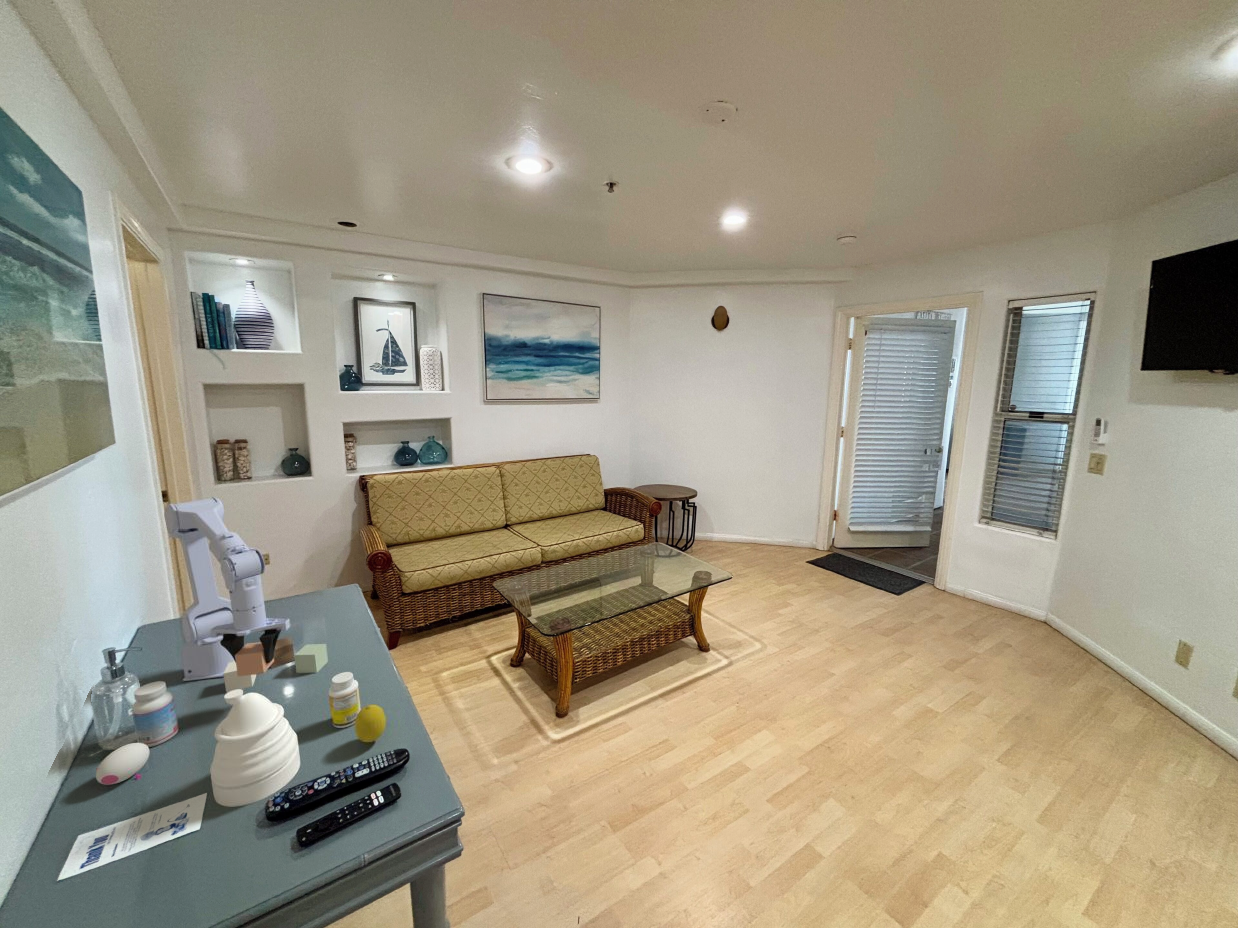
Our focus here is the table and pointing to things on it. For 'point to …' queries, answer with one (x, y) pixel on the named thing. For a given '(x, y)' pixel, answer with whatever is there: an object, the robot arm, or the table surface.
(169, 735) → the pill bottle
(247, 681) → the cream block
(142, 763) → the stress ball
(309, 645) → the sage block
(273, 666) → the walnut block
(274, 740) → the honey pot
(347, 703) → the supplement bottle
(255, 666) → the terracotta block
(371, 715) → the lemon
